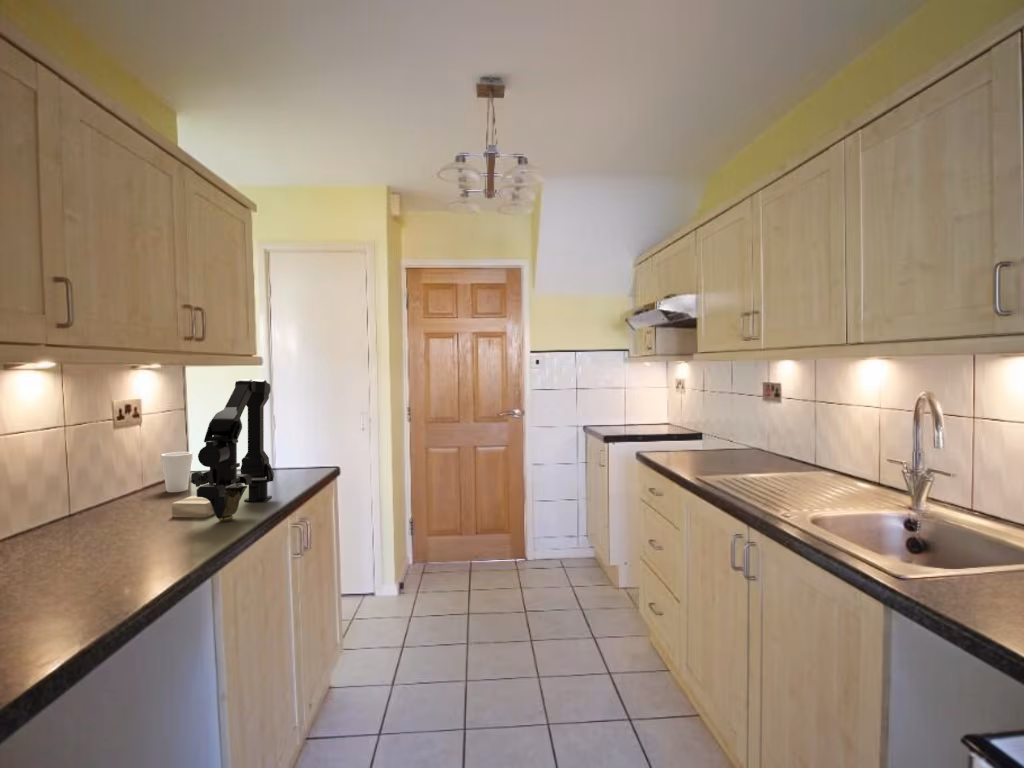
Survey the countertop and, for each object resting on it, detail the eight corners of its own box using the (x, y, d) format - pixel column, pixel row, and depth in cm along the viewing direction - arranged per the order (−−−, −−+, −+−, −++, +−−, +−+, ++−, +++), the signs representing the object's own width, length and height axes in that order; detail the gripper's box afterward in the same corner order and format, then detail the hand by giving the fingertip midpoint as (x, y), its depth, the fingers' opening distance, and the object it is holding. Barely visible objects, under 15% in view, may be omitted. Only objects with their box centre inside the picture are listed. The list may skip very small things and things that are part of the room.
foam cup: (198, 488, 196) (198, 452, 196) (176, 494, 187) (176, 456, 187) (177, 486, 199) (177, 451, 198) (155, 492, 190) (154, 455, 189)
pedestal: (193, 508, 169) (192, 495, 168) (224, 508, 168) (224, 495, 168) (172, 516, 159) (172, 503, 158) (205, 517, 158) (205, 503, 158)
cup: (218, 526, 150) (218, 497, 150) (206, 521, 154) (206, 493, 154) (245, 520, 156) (245, 492, 156) (232, 515, 160) (232, 488, 160)
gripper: (216, 455, 164) (216, 506, 165) (176, 466, 146) (177, 524, 146) (252, 455, 164) (252, 507, 164) (217, 466, 145) (218, 524, 146)
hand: (225, 515), depth 155 cm, fingers closed on cup, 6 cm apart
